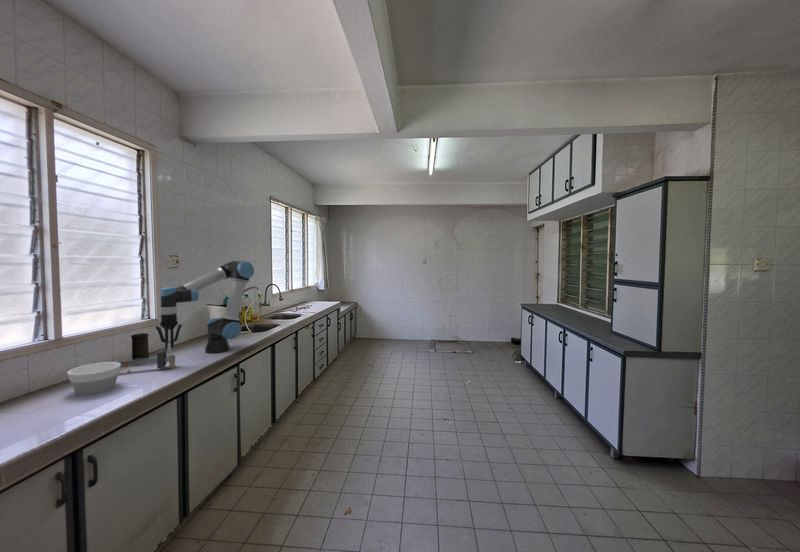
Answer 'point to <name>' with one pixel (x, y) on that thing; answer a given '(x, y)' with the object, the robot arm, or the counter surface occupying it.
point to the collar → (161, 358)
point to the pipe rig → (146, 362)
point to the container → (140, 346)
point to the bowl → (94, 377)
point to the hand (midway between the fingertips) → (169, 353)
